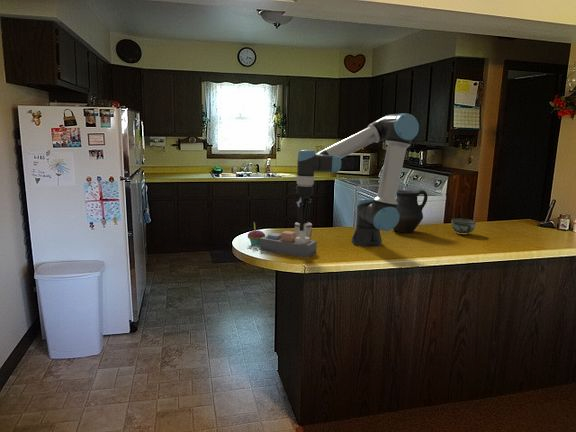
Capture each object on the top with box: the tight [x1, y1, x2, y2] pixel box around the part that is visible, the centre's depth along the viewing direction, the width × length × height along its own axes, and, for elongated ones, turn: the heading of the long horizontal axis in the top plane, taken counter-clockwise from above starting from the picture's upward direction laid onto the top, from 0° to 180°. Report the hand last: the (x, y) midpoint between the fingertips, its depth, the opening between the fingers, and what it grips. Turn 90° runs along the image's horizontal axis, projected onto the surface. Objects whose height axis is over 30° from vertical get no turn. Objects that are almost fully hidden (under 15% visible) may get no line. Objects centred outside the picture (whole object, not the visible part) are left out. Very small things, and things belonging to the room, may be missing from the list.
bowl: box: [451, 217, 477, 234], centre depth 254 cm, size 14×13×8 cm
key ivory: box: [295, 237, 310, 245], centre depth 199 cm, size 5×5×5 cm
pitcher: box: [392, 189, 428, 234], centre depth 253 cm, size 21×22×25 cm
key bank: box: [259, 235, 318, 259], centre depth 202 cm, size 24×10×6 cm, turn 64°
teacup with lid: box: [294, 222, 313, 240], centre depth 223 cm, size 12×9×12 cm
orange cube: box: [280, 230, 296, 242], centre depth 201 cm, size 5×5×5 cm
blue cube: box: [267, 232, 281, 240], centre depth 204 cm, size 5×5×5 cm
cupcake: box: [247, 221, 266, 247], centre depth 211 cm, size 9×8×12 cm
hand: (302, 237), depth 198 cm, fingers closed
